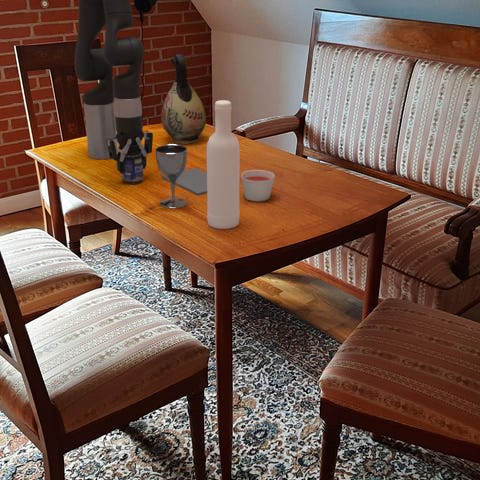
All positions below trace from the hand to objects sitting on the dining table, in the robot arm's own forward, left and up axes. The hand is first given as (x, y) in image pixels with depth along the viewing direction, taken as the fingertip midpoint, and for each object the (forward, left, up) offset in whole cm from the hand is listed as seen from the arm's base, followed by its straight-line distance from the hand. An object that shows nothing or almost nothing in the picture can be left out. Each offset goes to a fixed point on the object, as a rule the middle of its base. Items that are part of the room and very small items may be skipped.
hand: (132, 170), depth 179 cm
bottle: (+40, +2, -3) cm, 40 cm away
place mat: (+12, +14, -3) cm, 19 cm away
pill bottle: (0, 0, -3) cm, 3 cm away
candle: (+32, +20, -3) cm, 38 cm away
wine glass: (+21, 0, -3) cm, 22 cm away
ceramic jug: (-24, +35, -3) cm, 43 cm away
